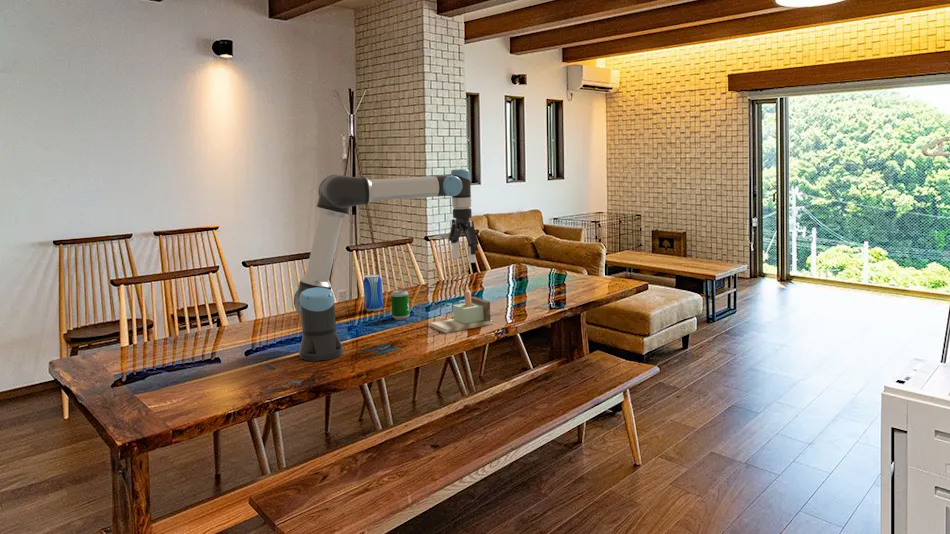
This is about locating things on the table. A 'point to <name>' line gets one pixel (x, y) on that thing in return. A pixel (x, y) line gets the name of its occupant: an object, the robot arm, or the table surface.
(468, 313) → the block
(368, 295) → the beer can
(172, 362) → the table surface
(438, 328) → the beige l-shaped bracket
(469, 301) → the dowel
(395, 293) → the soda can
